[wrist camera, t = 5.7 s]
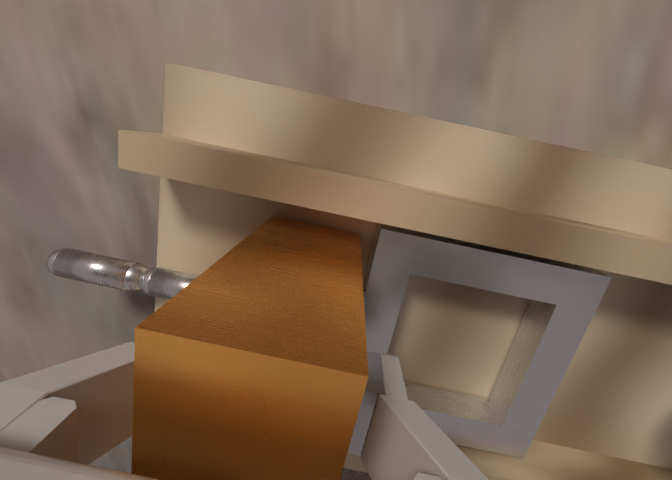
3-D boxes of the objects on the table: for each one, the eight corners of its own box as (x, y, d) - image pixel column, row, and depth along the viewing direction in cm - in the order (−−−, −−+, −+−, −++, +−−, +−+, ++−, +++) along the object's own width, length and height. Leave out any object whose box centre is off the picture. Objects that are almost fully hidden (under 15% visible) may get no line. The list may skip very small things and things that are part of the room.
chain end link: (583, 263, 11) (985, 463, 4) (508, 430, 13) (684, 752, 6) (62, 153, 11) (-452, 160, 4) (70, 338, 13) (-257, 557, 6)
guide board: (830, 209, 11) (1035, 235, 8) (643, 493, 15) (725, 592, 12) (190, 73, 11) (118, 40, 8) (169, 394, 15) (116, 465, 12)
